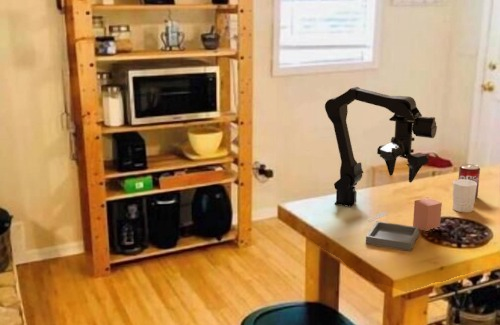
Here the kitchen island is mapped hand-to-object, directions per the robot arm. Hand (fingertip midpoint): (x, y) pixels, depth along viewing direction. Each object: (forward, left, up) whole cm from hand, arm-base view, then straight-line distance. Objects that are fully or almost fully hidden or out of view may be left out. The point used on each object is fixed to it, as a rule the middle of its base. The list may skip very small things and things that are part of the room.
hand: (400, 178), depth 203 cm
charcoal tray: (+3, -23, -13) cm, 27 cm away
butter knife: (-8, -12, -13) cm, 20 cm away
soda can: (+20, +27, -13) cm, 36 cm away
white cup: (+20, +13, -13) cm, 27 cm away
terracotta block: (+11, -9, -13) cm, 19 cm away
